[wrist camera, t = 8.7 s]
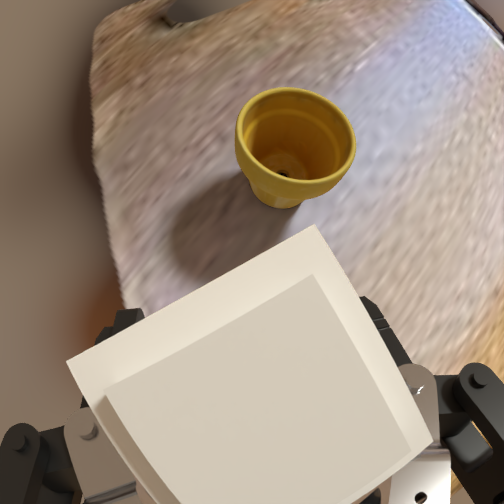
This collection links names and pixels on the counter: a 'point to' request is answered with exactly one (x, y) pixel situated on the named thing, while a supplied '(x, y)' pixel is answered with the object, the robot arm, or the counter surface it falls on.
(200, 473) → the block
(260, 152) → the plant pot
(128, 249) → the counter surface
